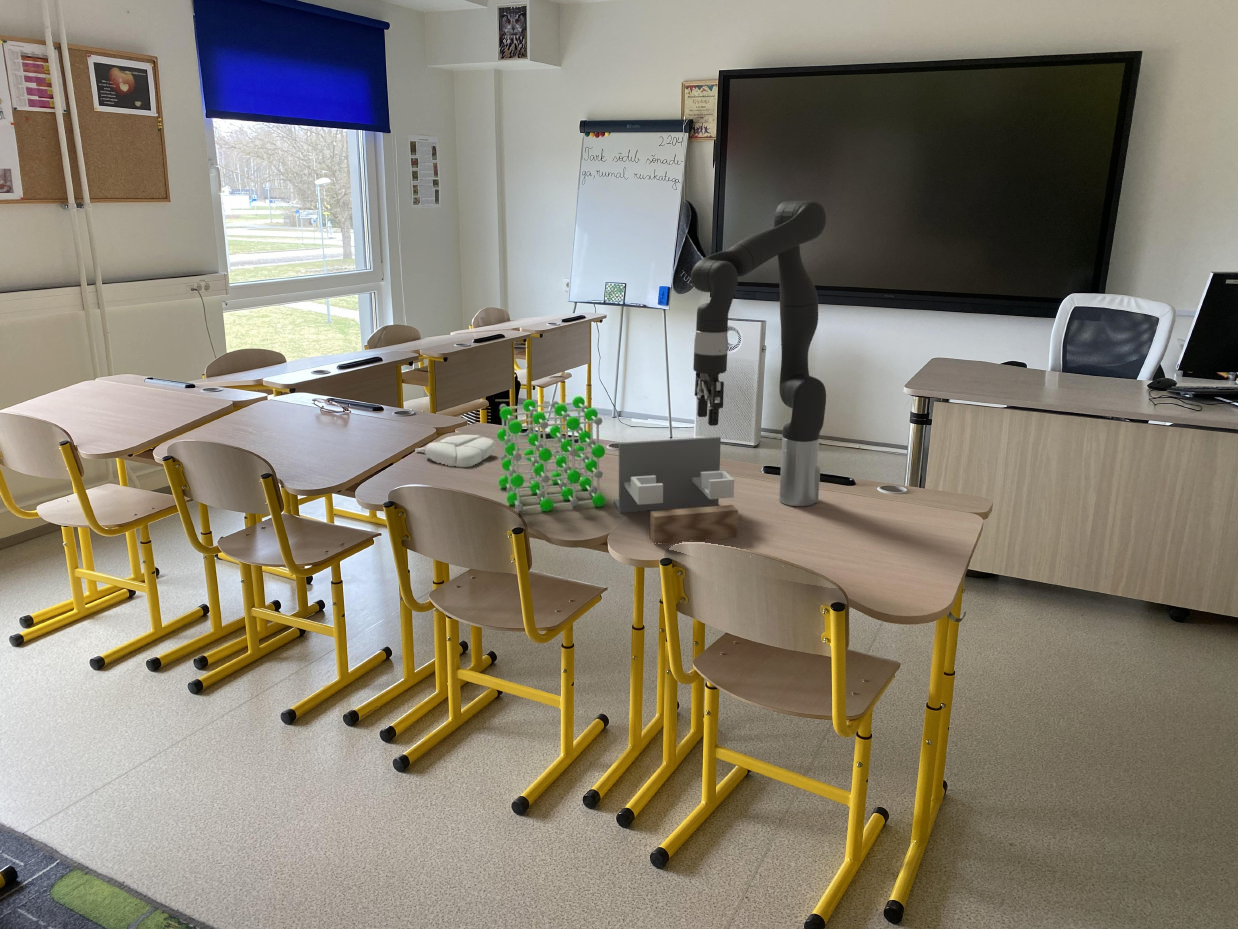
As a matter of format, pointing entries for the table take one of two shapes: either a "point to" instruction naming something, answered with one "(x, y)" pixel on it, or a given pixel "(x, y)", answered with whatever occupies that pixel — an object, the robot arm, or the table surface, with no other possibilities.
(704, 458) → the rack
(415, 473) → the table surface
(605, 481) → the table surface
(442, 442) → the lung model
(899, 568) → the table surface
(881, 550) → the table surface
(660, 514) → the rail
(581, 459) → the molecular structure model
